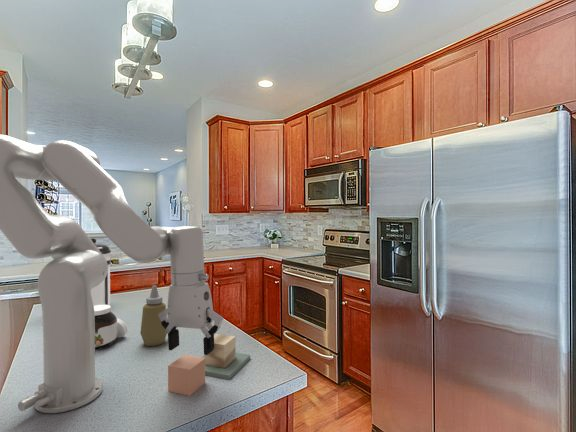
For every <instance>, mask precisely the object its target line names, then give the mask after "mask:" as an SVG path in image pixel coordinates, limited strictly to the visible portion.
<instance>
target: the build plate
mask: <svg viewBox="0 0 576 432" xmlns="http://www.w3.org/2000/svg"><path fill="white" fill-rule="evenodd" d="M201 358H204V356H202V357H201ZM250 359H251V354H246V353H241V352H240V353H239V352H235V359H234V360H233V361H232V362H231V363H229V364H228V365H227V366H226V367H225V368H221V367H216V366H210V365H205V376H207V377H208V376H209V377H214V378H220V379H225V380H231V379H232V378H233V376H235V374H237V373H238V371H239V370H240V369H242V367H243V366H244V365H246V363H248V361H249V360H250Z"/></svg>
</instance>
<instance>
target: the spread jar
mask: <svg viewBox="0 0 576 432" xmlns="http://www.w3.org/2000/svg"><path fill="white" fill-rule="evenodd" d="M94 314H95V351H96V350H102V349H104V348H107V347H109V346H111V345H112V344H113V343H114V342H115V340H116V338H120V339H121V338H124V336H125V335H127V333H128V327H127V324H126V323H125V322H124V321H123V320H122V319H120V318H118V317H117V316H116V314H115V313H113V312H112V306H111V305H95V306H94Z"/></svg>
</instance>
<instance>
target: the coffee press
mask: <svg viewBox="0 0 576 432" xmlns="http://www.w3.org/2000/svg"><path fill="white" fill-rule="evenodd" d="M90 239H91V240H92V242H93V243H94V244H95V245H96V247H97V248H98V249H99V251H100V252H101V253H102V254H103V256H104V257H105V259H106V261H107V264H108V273H107V276H106V278H105V279H104V280H103V281H102V282H101V283H100V284H99V285H97V286H96V287H94V288H92V289H91V297H92V301H93V305H94V306H95V305H110V304H111V261H112V260H111V258H114V257H116V256H115V255H114V254H113V253H112V250H111V249H110V247H109V246H108V245H106V244H99V243H97V239H96V238H90ZM110 306H111V305H110Z"/></svg>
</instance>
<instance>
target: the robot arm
mask: <svg viewBox="0 0 576 432" xmlns="http://www.w3.org/2000/svg"><path fill="white" fill-rule="evenodd" d="M17 178H18V179H24V180H33V181H36V180H37V181H48V182H49V181H50V182H52V181H53V182H58V183H59V184H60V185H61V186H62V187H63V189H65V190H66V191H67V192H68V193H70V194H71V196H73V197H74V198H75V199H76V200H77V202H79V203H80V204H81V205H82V206H83V207H85V208H86V210H88V212H89V213H90V214H91V217H92V218H93V220H94V222H95V223H96V225H97V226H98V228H99V229H100V230H101V232H102V233H103V234H104V235H105V236H106V237H107V238H108V240H109V241H111V242H112V243H113V244H114V245H115V246H116V247H117V248H118V249H120V251H122V252H123V254H125V255H126V256H127V257H128V258H130V259H132V260H133V261H135V262H137V263H141V264H149V263H153V262H156V260H158V259H160V258H163V257H164V256H170V276H171V277H170V279H171V282H170V283H171V284H170V285H169V287H168V296H167V307H166V310H164V311H162V312H160V313H159V314H158V316H159V318H160V321H161V324H162V326H163V327H164V328H165V332H166V333H167V344H168V345H167V346H168V351H173V350H174V349H177V347H179V346H180V331H179V329H178V328H183V329H193V330H200V331H201V332H202V334H203V335H204V336H205V337H203V338H202V339H203V341H202V342H203V355H204V354H205V355H208V354H209V353H210V352H212V351H213V350H214V335H215V334H217V332H218V330H220V328H221V326H222V323H223V321H224V317H223V316H222V315H221V314H219V313H217V312H216V311H214V306H213V298H212V293H211V289H210V286H209V283H208V282H206V281H207V280H209V278H210V276H209V274H208V273H205V271H206V270H205V259H204V258H205V255H204V253H205V252H204V251H205V250H204V233H203V229H202V228H201V227H200V226H197V225H182V226H174V227H170V226H156V225H153V226H150V225H149V224H148V223H147V222H146V221H144V219H143V218H141V216H139V214H137V213H136V211H135V210H134V209H133V208H132V206H130V204H129V203H128V202H127V199H126V197H125V192H124V188H123V186H122V185H120V183H119V182H118V181H116V180H115V179H114V178H113V177H112V175H110V174H109V173H108V172H107V171H106V170H105V169H104V168H103V167H102V166H101V162H100V159H99V157H98V156H97V155H96V154H95V153H94V152H93V151H92V150H90V149H89V148H87V147H85V146H83V145H80V144H77V143H75V142H73V141H69V140H55V141H51V142H49V143H48V144H47V145H41V144H33V143H30V142H27V141H25V140H22V139H20V138H16V137H12V136H9V135H6V134H0V231H1V233H2V234H3V235H4V237H6V238H7V240H8V241H9V242H10V243H11V245H12V246H13V247H14V249H16V251H17V252H18V254H20V255H21V256H22V257H25V258H26V259H27V258H29V259H34V260H37V259H45V258H48V257H51V258H52V260H51V261H49V262H48V263H47V264H46V265H45V266H44V267H43V268H42V269H41V271H40V273H39V275H38V279H37V291H38V295H39V300H40V305H41V313H42V333H43V335H42V337H43V339H42V341H43V342H42V343H43V344H42V345H43V346H42V347H43V348H42V349H43V350H42V351H43V354H42V355H43V358H42V359H43V362H42V363H43V383H40V384H39V385H37V387H38V388H37V389H38V390H37V391H35V392H34V394H33V395H31V396H28V397H25V398H24V399H22V400H21V401H18V403H17V408H18V410H19V411H20V412H23V411H25V410H28V409H29V408H31V407H33V408H35V409H36V410H37V411H38V412H40V413H44V414H58V413H65V412H68V411H69V412H70V411H72V410H75V409H78V408H80V407H83V406H85V405H87V404H89V403H91V402H92V401H94V400H96V399H97V398H98V397H99V396H100V394H101V393H102V391H103V390H104V384H103V381H102V380H101V379H100V378H96V350H95V314H94V305H93V301H92V297H91V289H92V288H94V287H96V286H97V285H99V284H100V283H101V282H102V281H103V280H104V279H105V278H106V276H107V273H108V264H107V261H106V259H105V257H104V256H103V254H102V253H101V252H100V251H99V249H98V248H97V247H96V245H95V244H96V243H93V242H92V240H91V239H92V238H90V237H89V235H88V234H87V233H86V231H85V230H84V229H83V228H82V226H81V225H80V224H78V223H77V221H75V220H73V219H72V218H70V217H69V216H66V215H62V214H51V213H49V212H47V210H46V209H45V208H44V207H43V206H42V204H41V203H40V202H39V201H38V200H37V199H36V197H35V196H34V195H33V194H32V192H31V191H30V190H29V189H27V188H26V187H25V186H24V185H23V184H21V182H20V181H19V180H18V179H17ZM213 322H214V324H212V323H213Z"/></svg>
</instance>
